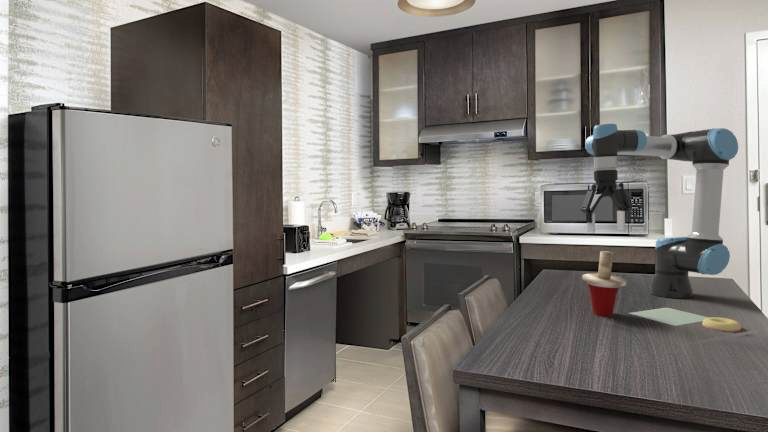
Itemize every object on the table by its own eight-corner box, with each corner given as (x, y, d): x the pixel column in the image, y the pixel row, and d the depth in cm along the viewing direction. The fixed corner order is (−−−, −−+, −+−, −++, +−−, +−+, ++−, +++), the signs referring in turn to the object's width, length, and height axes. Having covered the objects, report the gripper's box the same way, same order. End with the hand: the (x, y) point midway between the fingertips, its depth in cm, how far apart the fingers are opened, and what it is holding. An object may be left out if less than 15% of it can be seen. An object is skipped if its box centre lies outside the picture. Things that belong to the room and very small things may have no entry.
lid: (604, 276, 187) (606, 248, 186) (635, 285, 174) (638, 255, 173) (573, 277, 182) (575, 249, 180) (603, 287, 169) (606, 256, 168)
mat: (666, 309, 185) (666, 307, 185) (715, 321, 168) (715, 319, 168) (628, 315, 179) (628, 313, 178) (674, 328, 162) (674, 325, 162)
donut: (730, 343, 153) (745, 333, 158) (732, 329, 152) (747, 319, 157) (695, 330, 161) (710, 321, 166) (697, 317, 160) (712, 308, 165)
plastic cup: (616, 321, 171) (616, 285, 170) (582, 317, 177) (582, 282, 177) (624, 314, 179) (624, 280, 179) (592, 310, 186) (592, 277, 185)
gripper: (623, 168, 187) (624, 227, 189) (569, 170, 178) (570, 232, 179) (641, 168, 180) (641, 229, 182) (585, 170, 171) (586, 234, 172)
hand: (606, 231), depth 180 cm, fingers open, 13 cm apart
